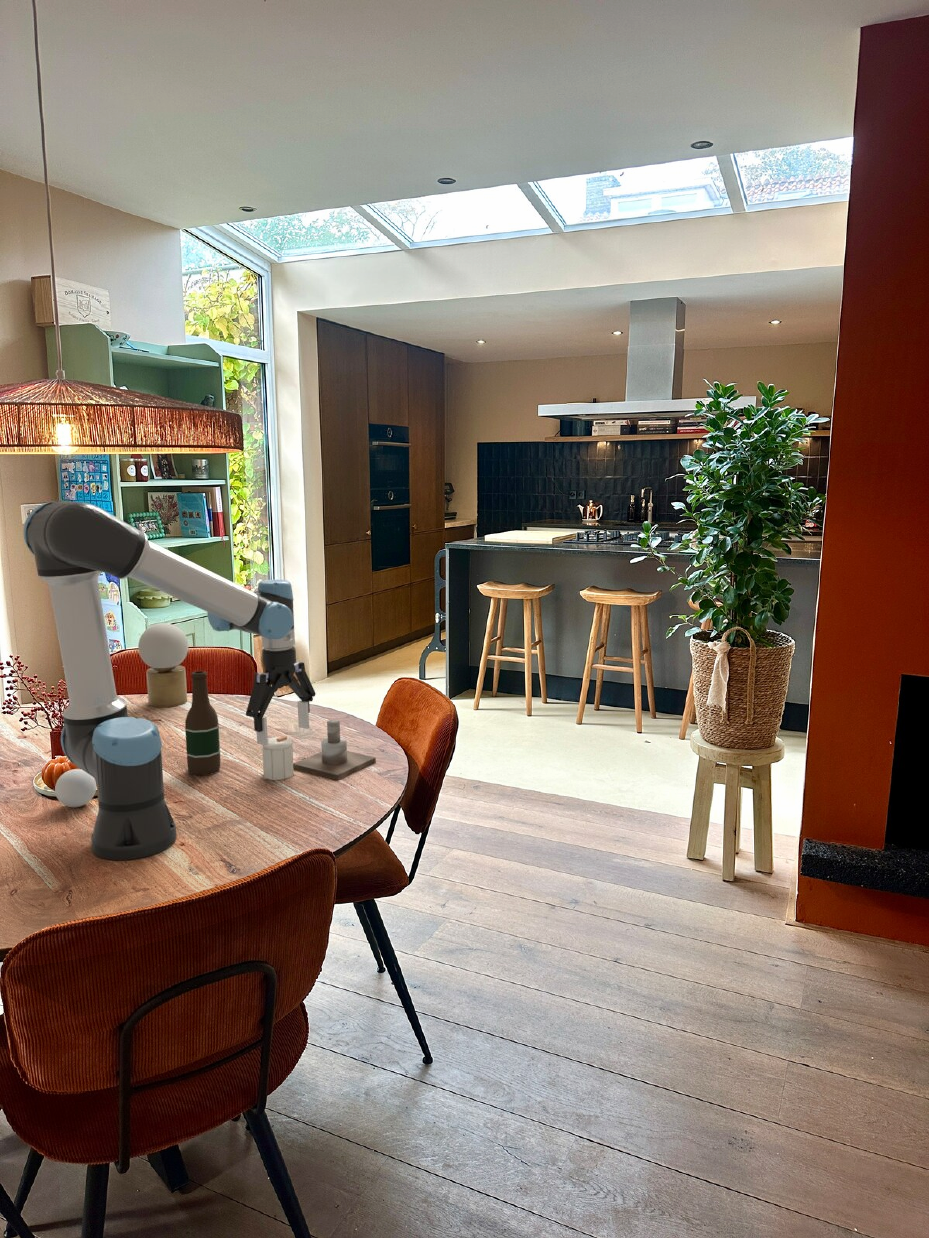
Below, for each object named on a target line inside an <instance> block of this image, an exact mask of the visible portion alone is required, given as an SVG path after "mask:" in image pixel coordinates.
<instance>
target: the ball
mask: <svg viewBox="0 0 929 1238" xmlns="http://www.w3.org/2000/svg"><path fill="white" fill-rule="evenodd" d="M96 792H97V781H96V779H95V778H94V777H92V776H91V775H89V774H88V773H86V772H85V771H83V770H82V769H80V768H75V769H70V770H68V771H65V772H63V774H61V775H60V776H59V778H58V779H57V780H56V783H55V787H54V793H55V797H56V798H57V800H58V801H59V803H61V805H63V806H66V807H68V808H81V807H82V806H85V805H87V804H88V803H89V802H91V801H92V799H93V798H94V796H95V794H96Z"/></svg>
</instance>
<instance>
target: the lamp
mask: <svg viewBox="0 0 929 1238" xmlns="http://www.w3.org/2000/svg"><path fill="white" fill-rule="evenodd" d="M137 649H138V653H139V656H140V658H141V660H142V662H143V663H144V664H145V665H146V666H148V667H150V668H147V669H146V671H145V673H146V684H147V685H146V686H147V687H146V688H147V699H148V700H147V701H148V705H149V706H151V707H155V708H171V707H176V706H180V705H183V704H186V703H187V702H188V693H187V692H188V690H187V674H186V673H187V672H186V667H185V666H183V665H180V664H181V663H183V662H184V660H185V659H186V657H187V655H188V652H189V641H188V637H187V636H186V634H185V633H184V631H183V630H182V629H181V628H179V626H176V625H174V624H172V623H167V622H165V623H164V622H161V623H156V624H153V625H150V626H149V627H148V628H146V630H144V631H143V632H142V634H141V636H140V638H139V640H138V647H137Z"/></svg>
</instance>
